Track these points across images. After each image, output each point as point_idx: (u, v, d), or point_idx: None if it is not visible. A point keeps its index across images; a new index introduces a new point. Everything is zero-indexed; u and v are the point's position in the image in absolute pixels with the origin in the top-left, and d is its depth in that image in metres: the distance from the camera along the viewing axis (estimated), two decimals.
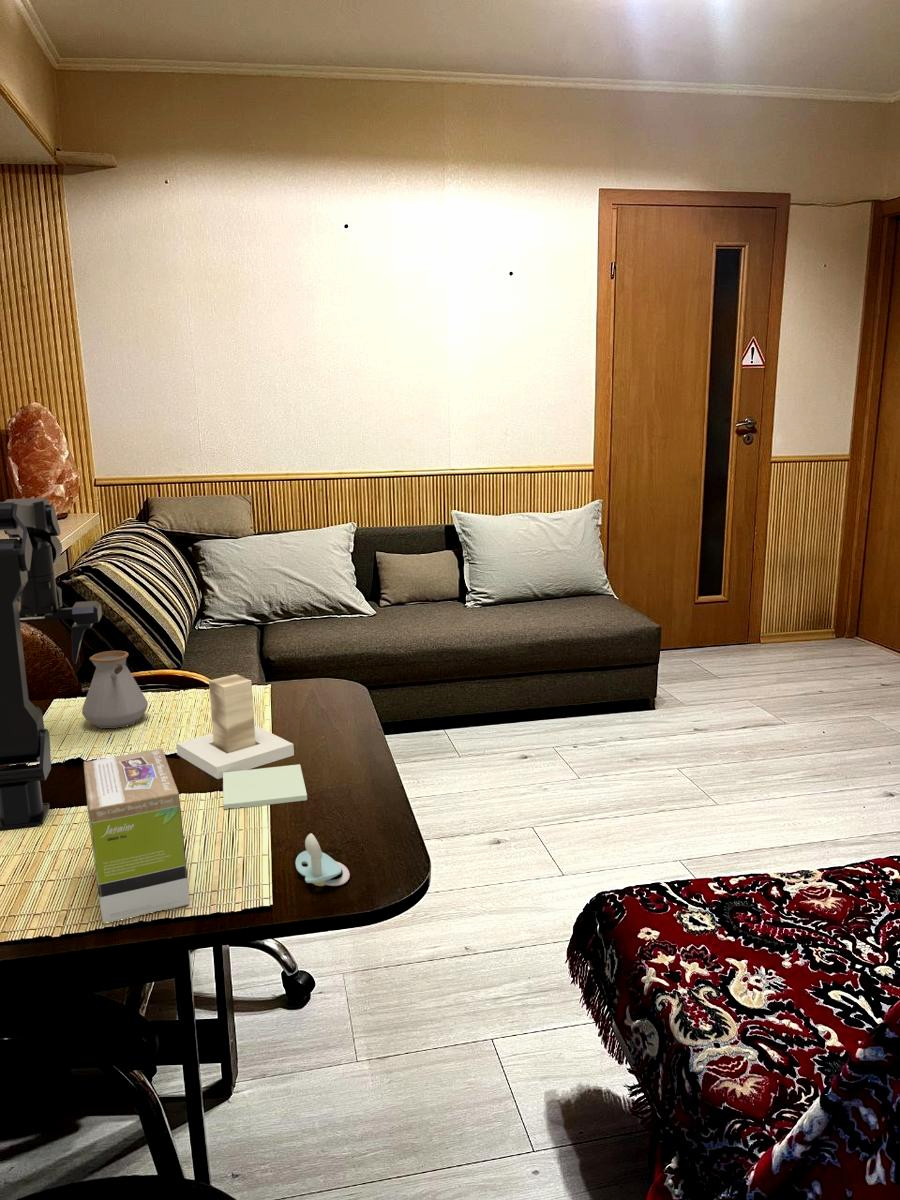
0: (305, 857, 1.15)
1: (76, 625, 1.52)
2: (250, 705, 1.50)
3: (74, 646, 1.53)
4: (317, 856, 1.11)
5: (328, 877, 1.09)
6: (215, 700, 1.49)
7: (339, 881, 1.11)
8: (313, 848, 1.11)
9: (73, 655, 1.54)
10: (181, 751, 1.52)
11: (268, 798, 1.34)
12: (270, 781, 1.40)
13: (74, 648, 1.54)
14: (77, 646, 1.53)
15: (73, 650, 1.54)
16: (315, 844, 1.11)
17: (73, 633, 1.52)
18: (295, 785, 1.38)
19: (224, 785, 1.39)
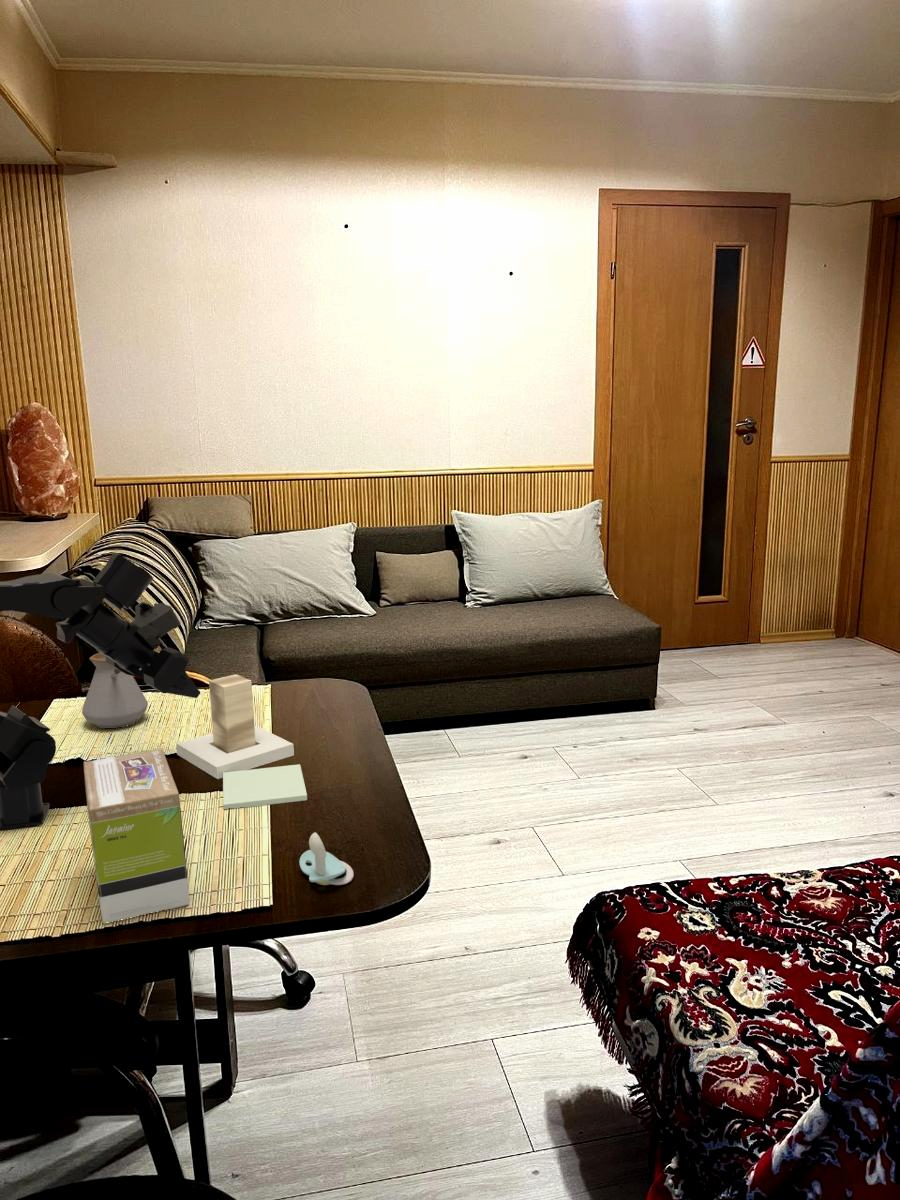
0: (309, 856, 1.15)
1: None
2: (250, 705, 1.50)
3: None
4: (321, 855, 1.11)
5: (332, 876, 1.10)
6: (215, 700, 1.49)
7: (343, 880, 1.11)
8: (317, 847, 1.11)
9: None
10: (181, 751, 1.52)
11: (268, 798, 1.34)
12: (270, 781, 1.40)
13: None
14: None
15: None
16: (319, 843, 1.11)
17: None
18: (295, 785, 1.38)
19: (224, 785, 1.39)
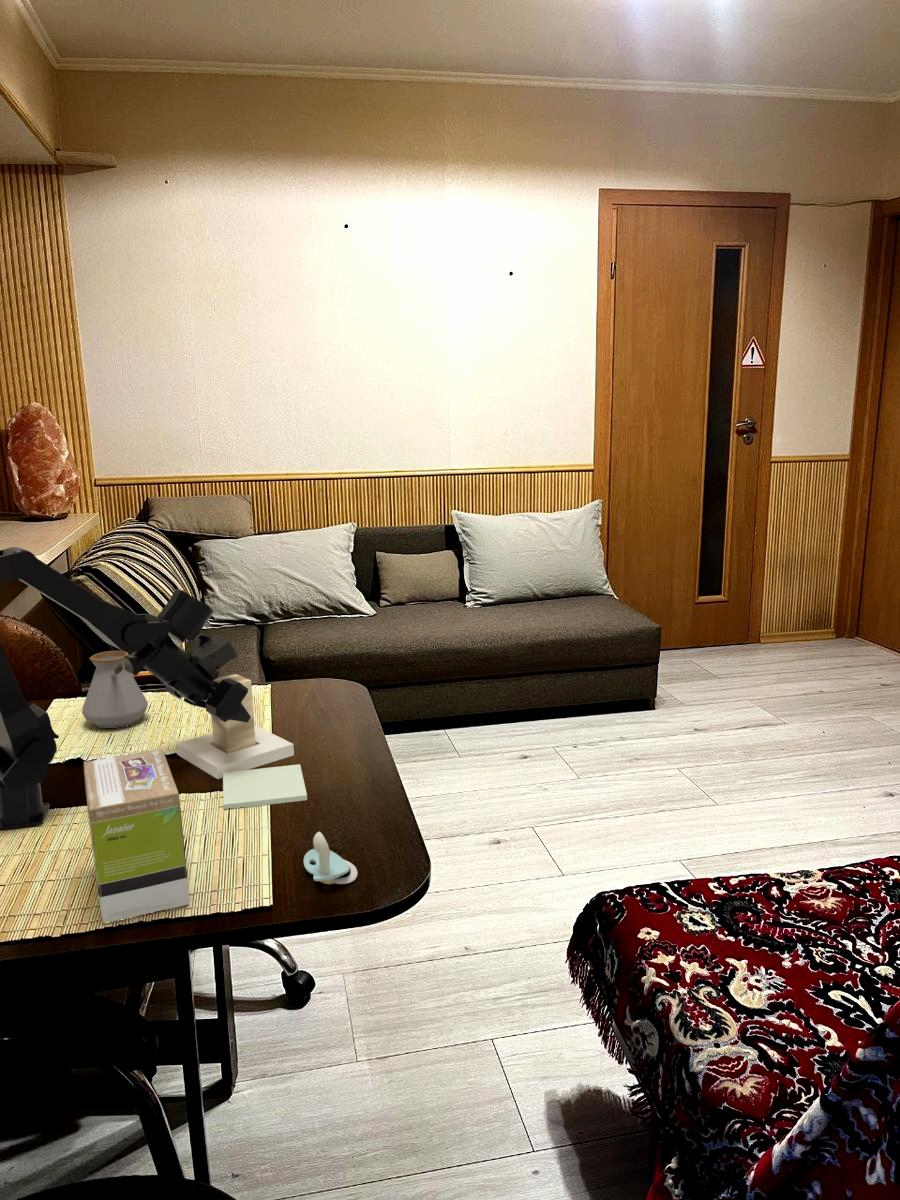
0: (313, 855, 1.15)
1: None
2: (250, 704, 1.50)
3: None
4: (325, 854, 1.11)
5: (336, 875, 1.10)
6: None
7: (347, 880, 1.11)
8: (321, 847, 1.11)
9: None
10: (181, 751, 1.52)
11: (268, 798, 1.34)
12: (270, 781, 1.40)
13: None
14: (231, 719, 1.47)
15: None
16: (323, 842, 1.11)
17: None
18: (295, 785, 1.38)
19: (224, 785, 1.39)
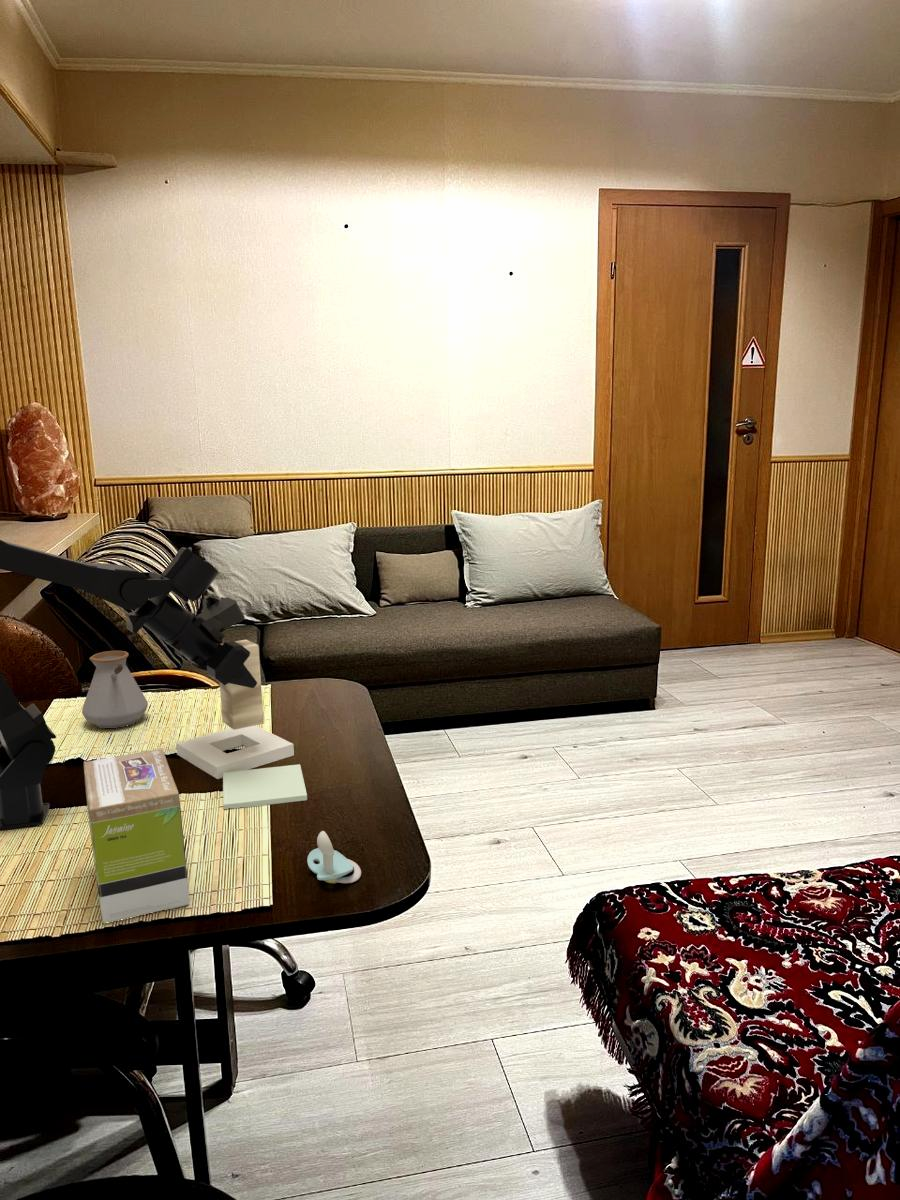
0: (317, 854, 1.16)
1: None
2: (257, 670, 1.46)
3: (235, 683, 1.43)
4: (329, 853, 1.12)
5: (340, 874, 1.10)
6: None
7: (350, 879, 1.12)
8: (325, 846, 1.11)
9: (243, 685, 1.44)
10: (181, 751, 1.52)
11: (268, 798, 1.34)
12: (270, 781, 1.40)
13: None
14: (235, 684, 1.43)
15: None
16: (327, 841, 1.11)
17: None
18: (295, 785, 1.38)
19: (224, 785, 1.39)
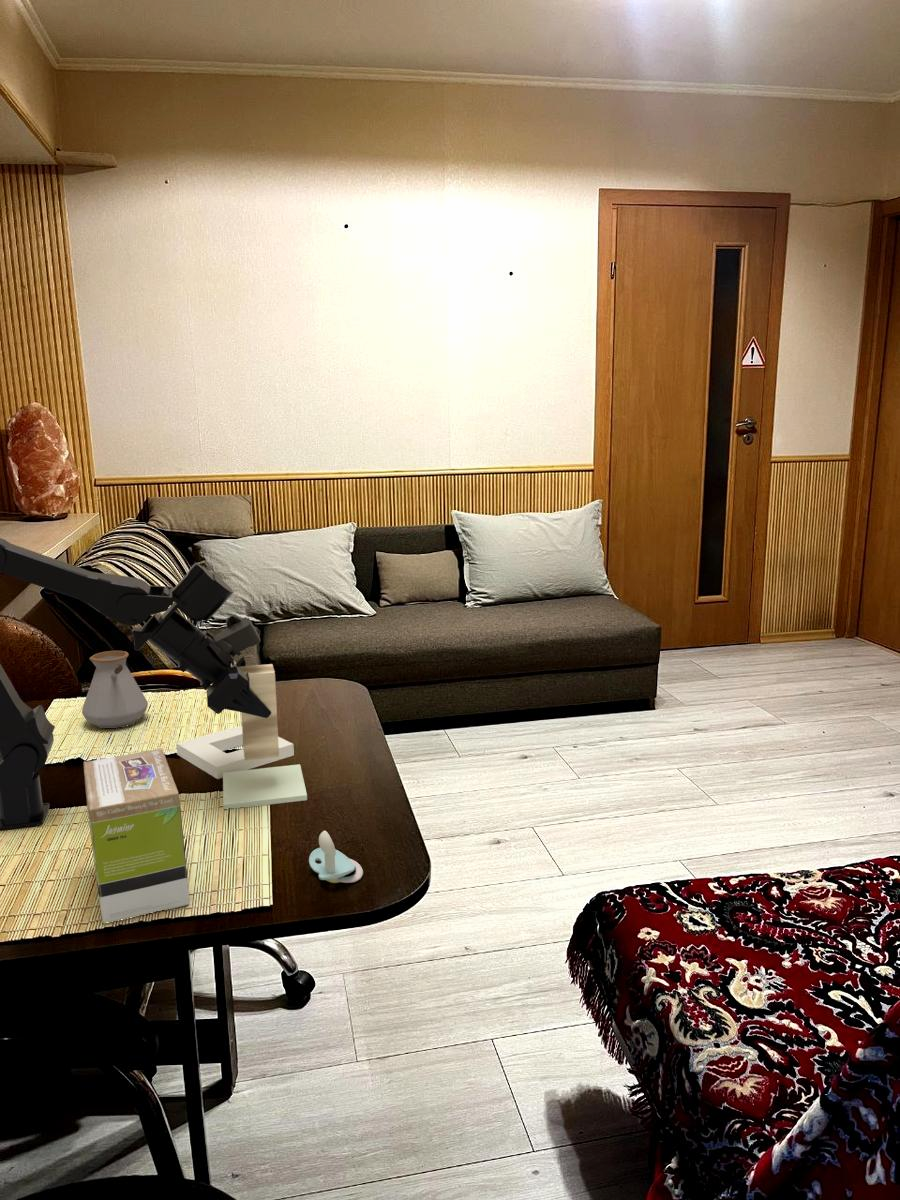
0: (318, 854, 1.16)
1: None
2: (272, 699, 1.34)
3: None
4: (331, 853, 1.12)
5: (342, 874, 1.10)
6: None
7: (352, 878, 1.12)
8: (326, 845, 1.11)
9: None
10: (181, 751, 1.52)
11: (268, 798, 1.34)
12: (270, 781, 1.40)
13: None
14: (244, 712, 1.32)
15: None
16: (329, 841, 1.11)
17: None
18: (295, 785, 1.38)
19: (224, 785, 1.39)
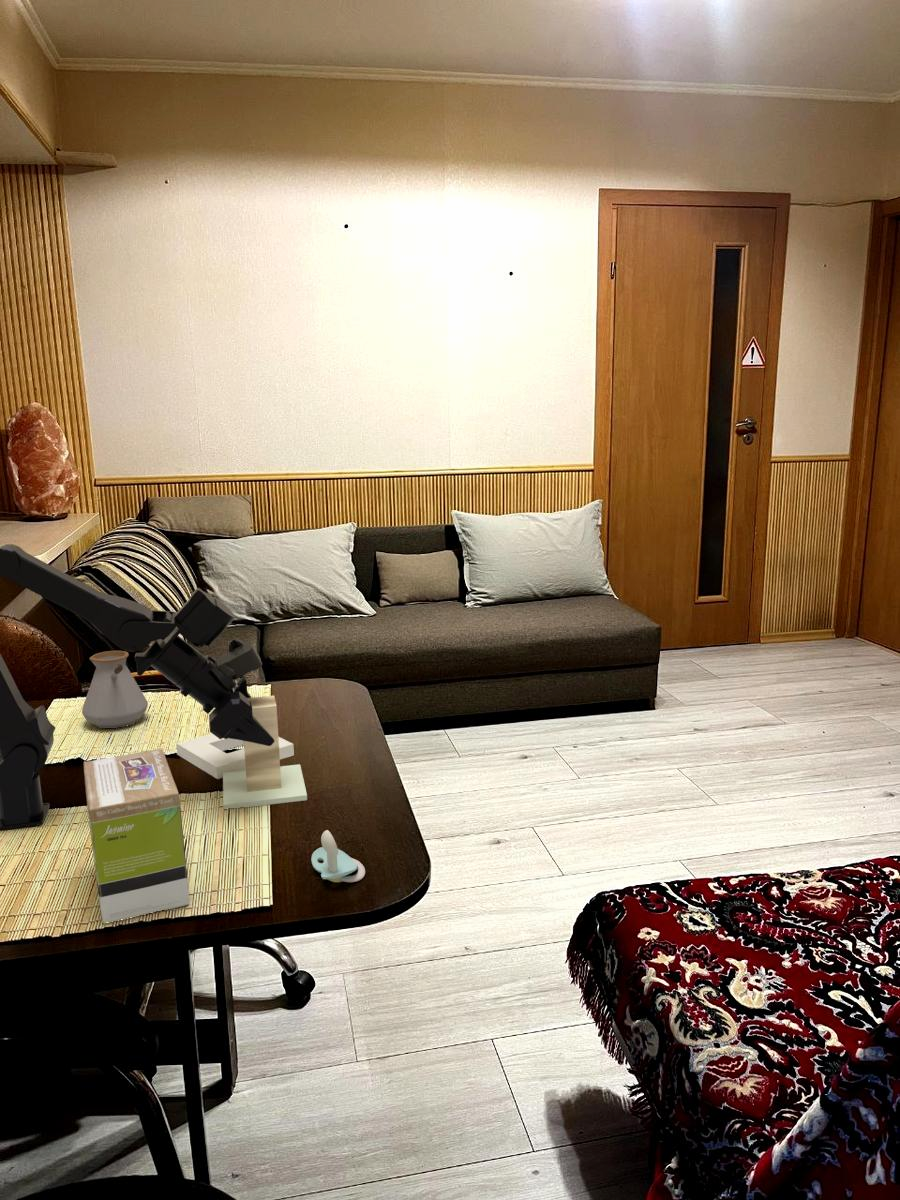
0: (321, 854, 1.16)
1: None
2: (274, 732, 1.35)
3: None
4: (333, 852, 1.12)
5: (344, 873, 1.10)
6: None
7: (354, 878, 1.12)
8: (329, 845, 1.11)
9: None
10: (181, 751, 1.52)
11: (268, 798, 1.34)
12: None
13: None
14: None
15: None
16: (331, 840, 1.11)
17: None
18: (295, 785, 1.38)
19: (224, 785, 1.39)
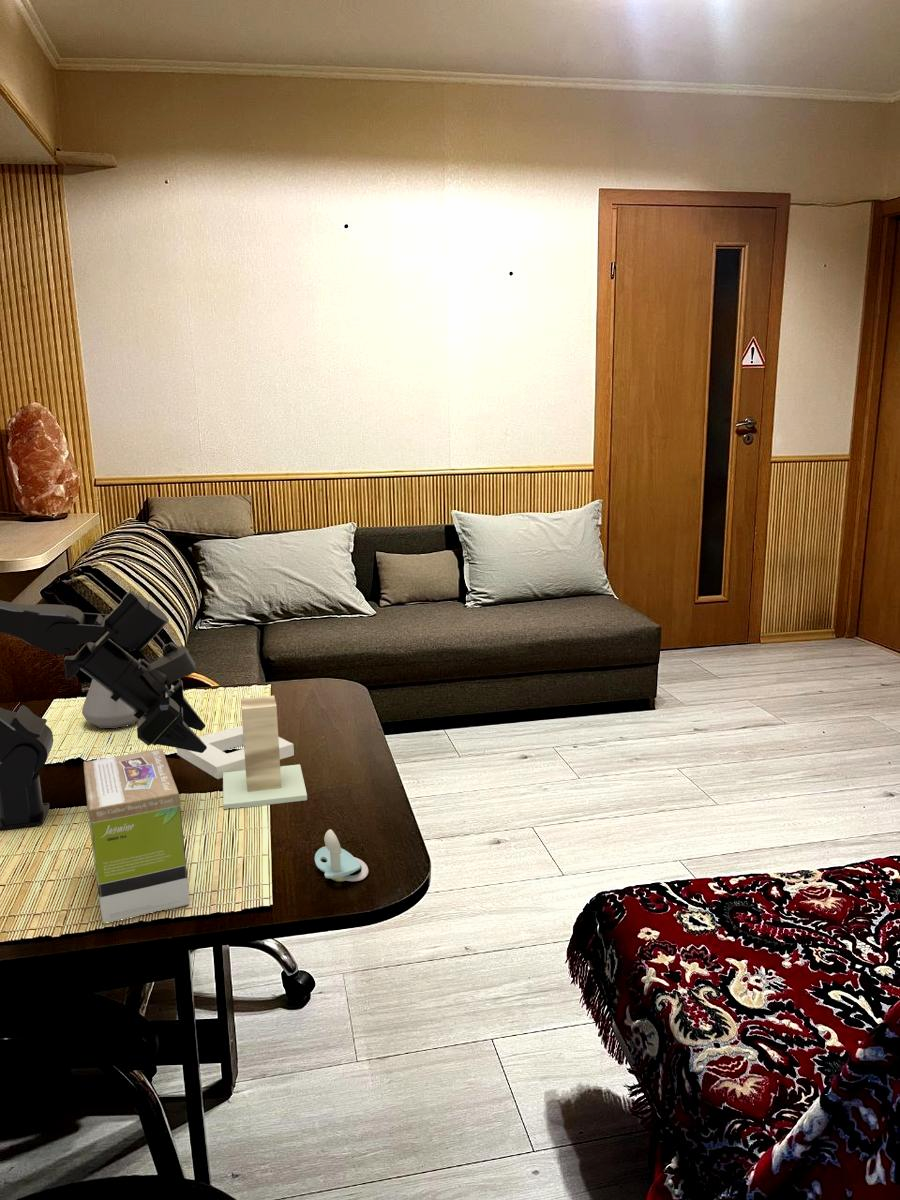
0: (324, 853, 1.16)
1: None
2: (274, 732, 1.35)
3: None
4: (336, 852, 1.12)
5: (347, 872, 1.10)
6: (242, 721, 1.37)
7: (358, 877, 1.12)
8: (332, 844, 1.12)
9: None
10: (181, 751, 1.52)
11: (268, 798, 1.34)
12: None
13: None
14: (178, 747, 1.29)
15: None
16: (334, 840, 1.12)
17: None
18: (295, 785, 1.38)
19: (224, 785, 1.39)
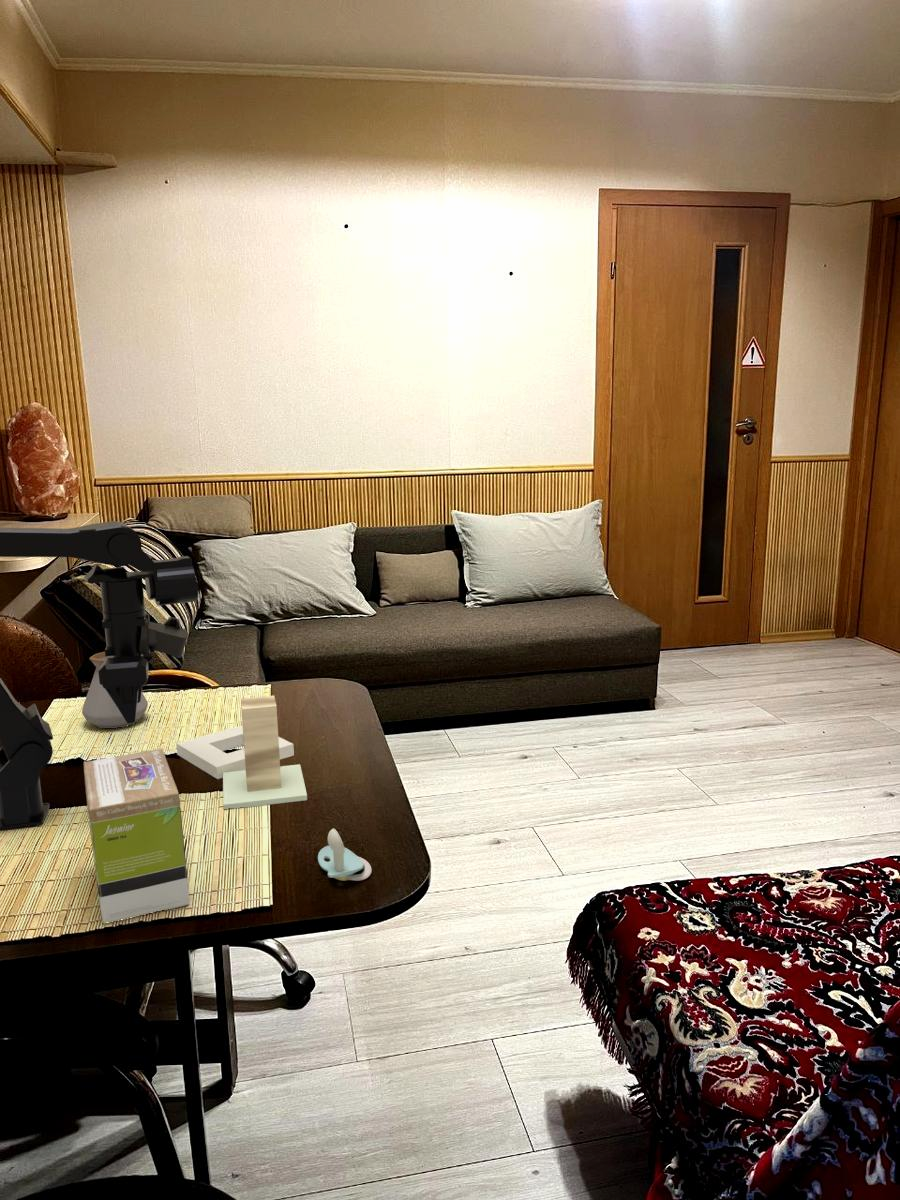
0: (327, 852, 1.16)
1: None
2: (274, 732, 1.35)
3: None
4: (340, 851, 1.12)
5: (351, 872, 1.11)
6: (242, 721, 1.37)
7: (361, 876, 1.12)
8: (335, 843, 1.12)
9: None
10: (181, 751, 1.52)
11: (268, 798, 1.34)
12: None
13: None
14: None
15: None
16: (338, 839, 1.12)
17: None
18: (295, 785, 1.38)
19: (224, 785, 1.39)
